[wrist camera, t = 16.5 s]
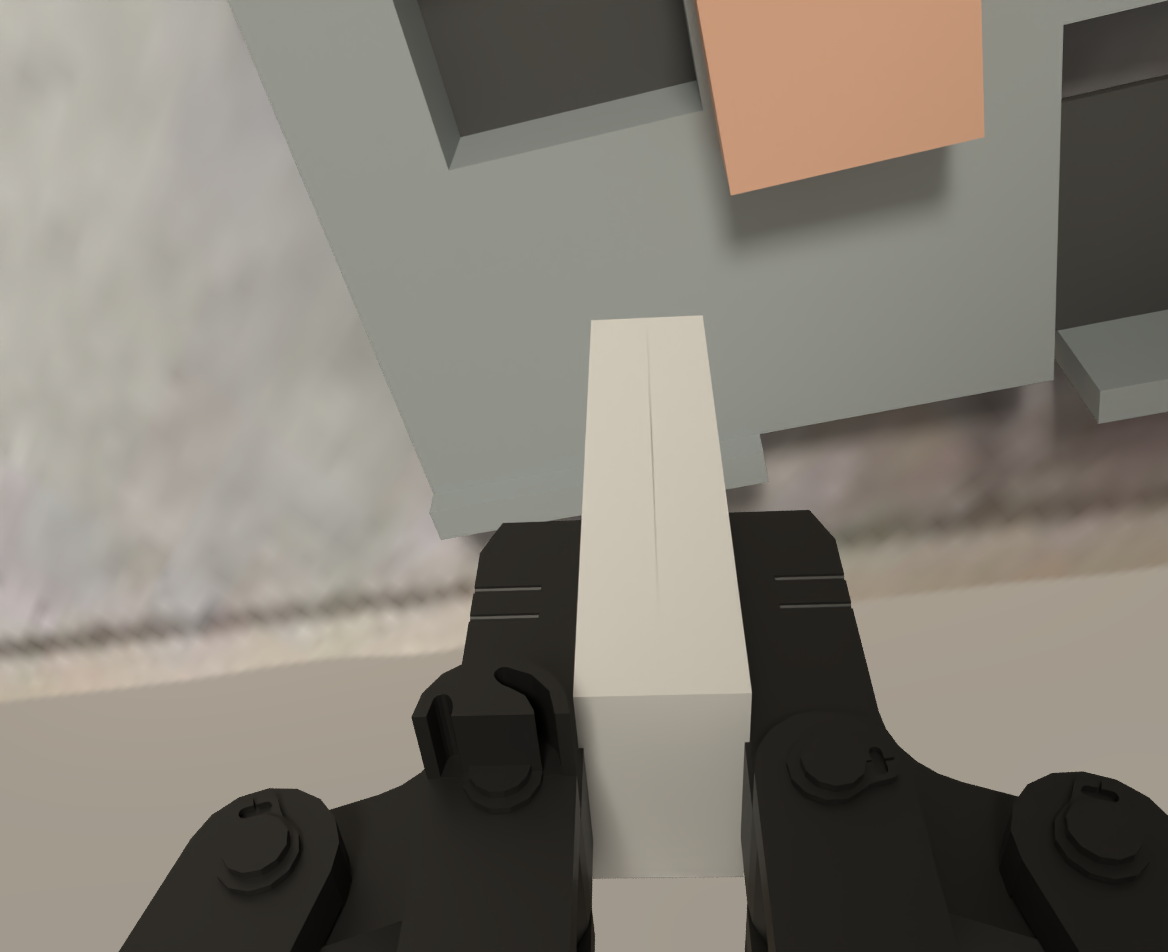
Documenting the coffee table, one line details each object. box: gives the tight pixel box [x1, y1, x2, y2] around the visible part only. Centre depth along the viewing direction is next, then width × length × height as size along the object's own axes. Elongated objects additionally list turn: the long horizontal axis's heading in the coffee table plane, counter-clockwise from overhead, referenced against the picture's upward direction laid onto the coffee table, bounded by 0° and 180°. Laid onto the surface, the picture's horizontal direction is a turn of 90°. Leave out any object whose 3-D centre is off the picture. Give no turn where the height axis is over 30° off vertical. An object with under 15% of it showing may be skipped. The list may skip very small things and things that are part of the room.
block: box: [694, 0, 985, 195], centre depth 24 cm, size 6×6×3 cm
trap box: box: [228, 0, 1168, 540], centre depth 28 cm, size 20×35×4 cm, turn 104°
